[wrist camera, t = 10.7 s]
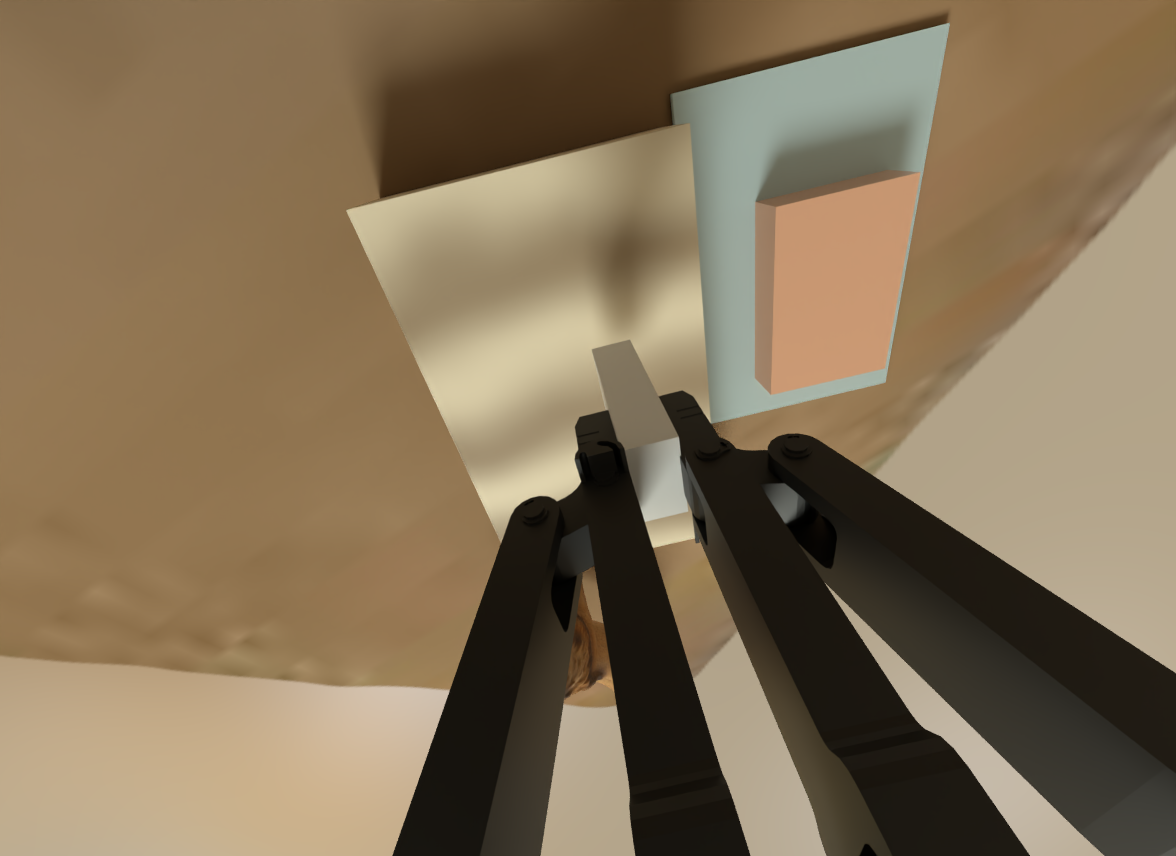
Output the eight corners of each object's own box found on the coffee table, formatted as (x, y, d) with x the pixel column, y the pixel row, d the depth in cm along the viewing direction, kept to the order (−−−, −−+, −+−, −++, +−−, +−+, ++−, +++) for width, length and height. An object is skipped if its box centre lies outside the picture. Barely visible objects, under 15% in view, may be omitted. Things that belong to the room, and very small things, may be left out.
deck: (379, 198, 19) (346, 210, 15) (660, 126, 18) (690, 122, 15) (519, 529, 29) (517, 578, 26) (696, 488, 29) (718, 532, 26)
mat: (670, 94, 18) (672, 93, 17) (943, 24, 17) (949, 22, 17) (698, 423, 26) (700, 426, 26) (882, 380, 26) (885, 382, 26)
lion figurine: (491, 591, 32) (479, 726, 25) (529, 545, 30) (528, 678, 23) (646, 641, 38) (675, 764, 30) (687, 605, 36) (728, 728, 28)
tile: (920, 172, 18) (887, 170, 20) (776, 206, 18) (755, 201, 20) (884, 368, 23) (860, 353, 25) (771, 395, 23) (754, 378, 25)
